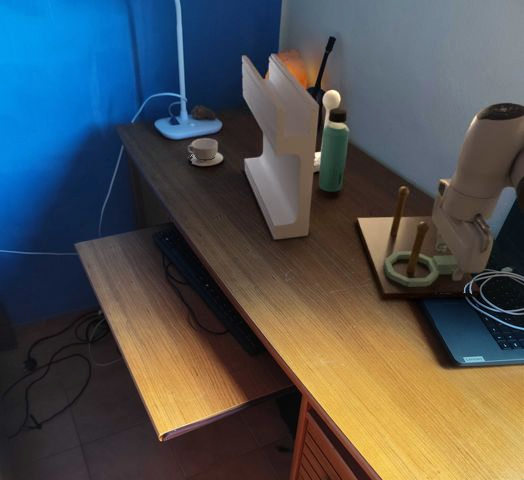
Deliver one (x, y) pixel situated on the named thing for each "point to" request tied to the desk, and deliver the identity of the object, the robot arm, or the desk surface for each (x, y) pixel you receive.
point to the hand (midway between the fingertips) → (447, 264)
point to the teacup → (205, 152)
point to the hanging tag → (435, 265)
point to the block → (282, 147)
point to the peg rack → (419, 242)
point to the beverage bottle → (334, 151)
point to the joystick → (327, 118)
